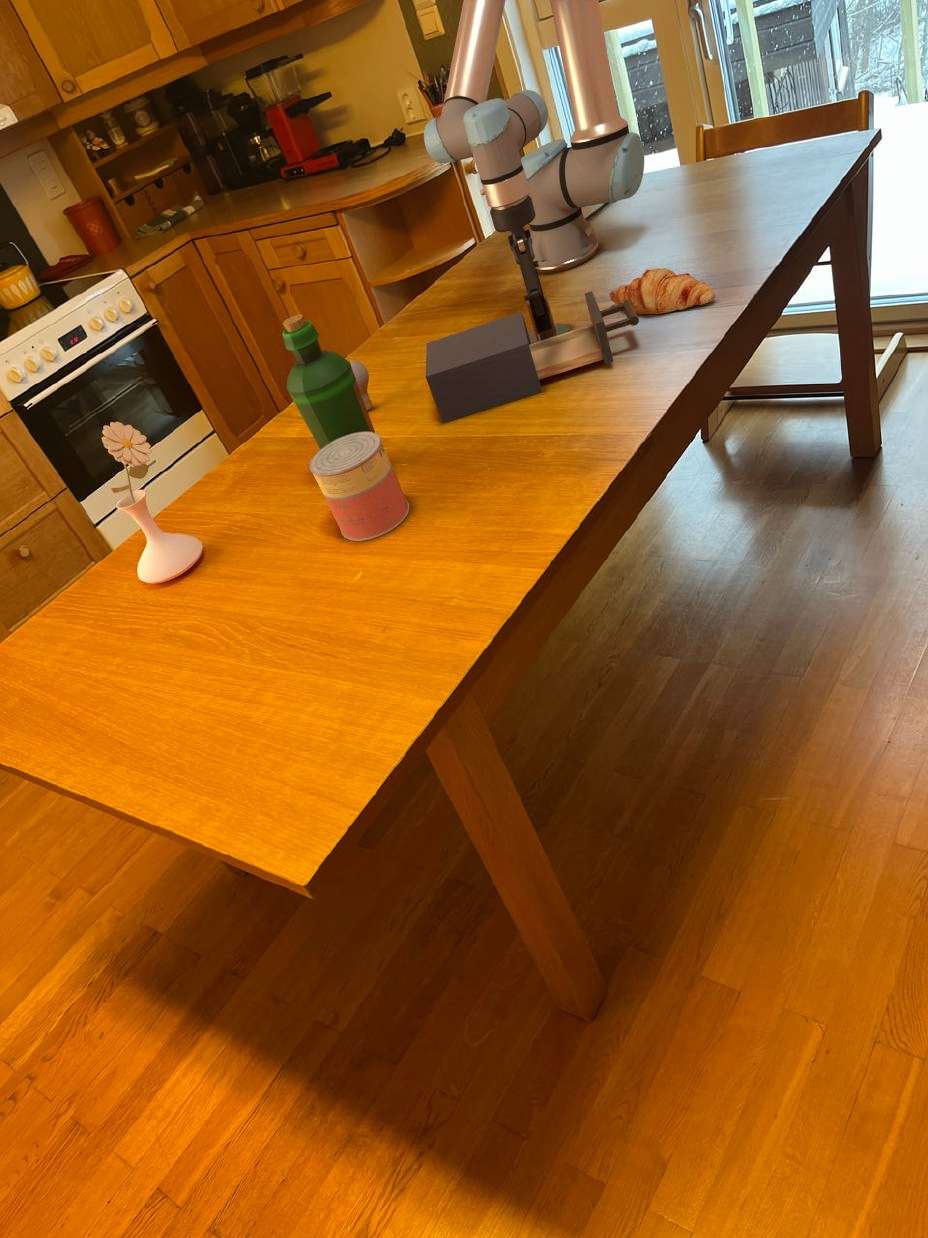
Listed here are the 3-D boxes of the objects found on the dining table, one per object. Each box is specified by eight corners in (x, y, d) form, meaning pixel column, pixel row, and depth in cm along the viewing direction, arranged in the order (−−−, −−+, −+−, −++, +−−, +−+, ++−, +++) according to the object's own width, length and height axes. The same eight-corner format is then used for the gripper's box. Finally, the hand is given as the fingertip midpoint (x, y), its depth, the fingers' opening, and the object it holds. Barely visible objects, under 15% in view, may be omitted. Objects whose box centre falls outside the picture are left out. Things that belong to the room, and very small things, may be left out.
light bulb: (386, 401, 172) (366, 353, 166) (373, 416, 168) (353, 367, 163) (363, 403, 175) (343, 356, 169) (350, 418, 171) (329, 371, 165)
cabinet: (535, 357, 165) (521, 311, 160) (542, 391, 153) (528, 343, 148) (442, 387, 168) (426, 342, 163) (442, 423, 157) (425, 376, 151)
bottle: (402, 454, 152) (336, 297, 136) (379, 491, 145) (307, 329, 128) (349, 462, 157) (279, 310, 140) (324, 497, 150) (247, 341, 133)
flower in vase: (174, 593, 141) (84, 458, 126) (130, 586, 148) (40, 457, 133) (227, 542, 149) (148, 409, 134) (183, 538, 155) (103, 410, 140)
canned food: (423, 503, 137) (395, 435, 130) (373, 546, 132) (341, 478, 125) (376, 492, 145) (347, 428, 138) (327, 533, 140) (294, 468, 133)
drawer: (632, 318, 161) (624, 279, 157) (647, 350, 149) (639, 309, 145) (504, 360, 165) (493, 323, 161) (509, 394, 154) (496, 355, 149)
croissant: (725, 314, 161) (729, 266, 159) (700, 312, 154) (704, 262, 151) (622, 315, 174) (624, 271, 172) (594, 314, 167) (596, 268, 164)
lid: (523, 336, 175) (512, 298, 170) (567, 321, 173) (557, 283, 169) (526, 353, 168) (515, 315, 163) (572, 338, 166) (562, 299, 162)
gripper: (486, 190, 166) (518, 300, 179) (491, 228, 146) (527, 348, 159) (525, 176, 165) (554, 287, 177) (536, 213, 145) (568, 335, 158)
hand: (541, 316), depth 168 cm, fingers open, 13 cm apart
